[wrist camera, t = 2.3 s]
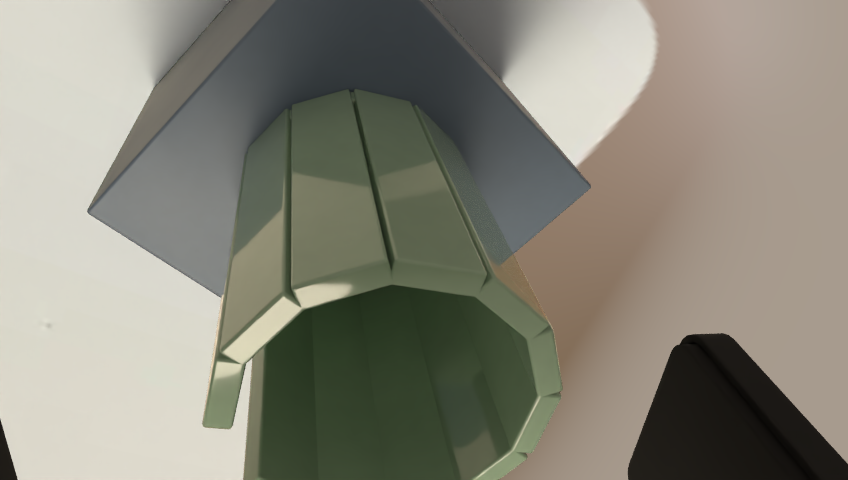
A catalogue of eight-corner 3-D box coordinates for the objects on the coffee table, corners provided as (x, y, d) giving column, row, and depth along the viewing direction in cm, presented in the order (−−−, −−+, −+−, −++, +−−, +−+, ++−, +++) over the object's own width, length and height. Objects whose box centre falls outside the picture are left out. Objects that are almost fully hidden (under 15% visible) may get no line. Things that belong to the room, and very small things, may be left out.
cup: (350, 40, 13) (392, 188, 8) (507, 192, 15) (624, 387, 10) (189, 207, 14) (127, 439, 9) (357, 324, 17) (389, 563, 11)
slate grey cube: (327, -111, 19) (347, -80, 12) (502, 81, 22) (593, 187, 16) (152, 89, 21) (85, 212, 14) (340, 235, 25) (359, 387, 18)
